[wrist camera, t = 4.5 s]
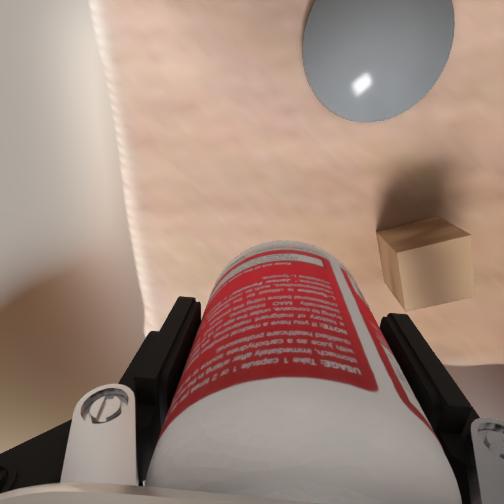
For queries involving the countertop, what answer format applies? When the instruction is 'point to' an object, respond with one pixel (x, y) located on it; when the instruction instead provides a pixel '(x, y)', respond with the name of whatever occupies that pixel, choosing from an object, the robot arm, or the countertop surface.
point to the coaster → (375, 54)
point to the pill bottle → (297, 394)
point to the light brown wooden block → (427, 263)
